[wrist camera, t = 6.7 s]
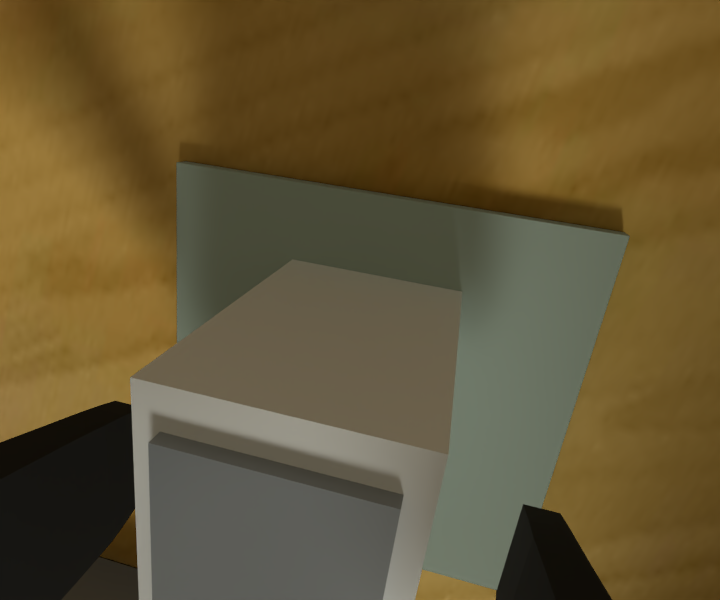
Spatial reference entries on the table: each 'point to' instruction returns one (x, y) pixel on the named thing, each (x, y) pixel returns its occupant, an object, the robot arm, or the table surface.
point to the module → (297, 441)
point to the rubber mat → (476, 330)
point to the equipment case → (106, 582)
